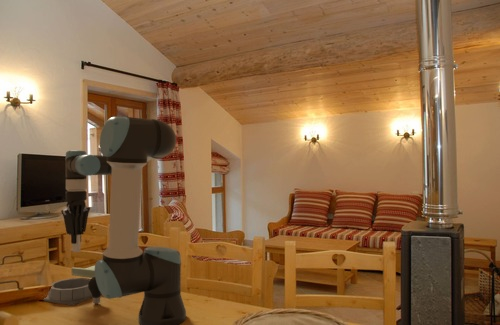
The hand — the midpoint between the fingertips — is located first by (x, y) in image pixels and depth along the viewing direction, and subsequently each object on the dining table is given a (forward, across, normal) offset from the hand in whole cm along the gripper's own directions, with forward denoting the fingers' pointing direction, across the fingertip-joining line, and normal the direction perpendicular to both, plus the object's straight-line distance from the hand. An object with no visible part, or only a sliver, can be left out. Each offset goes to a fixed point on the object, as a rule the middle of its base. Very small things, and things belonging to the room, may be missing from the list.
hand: (76, 251), depth 159 cm
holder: (+17, +2, -1) cm, 17 cm away
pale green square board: (+12, -14, -1) cm, 18 cm away
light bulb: (+17, +6, +14) cm, 23 cm away
